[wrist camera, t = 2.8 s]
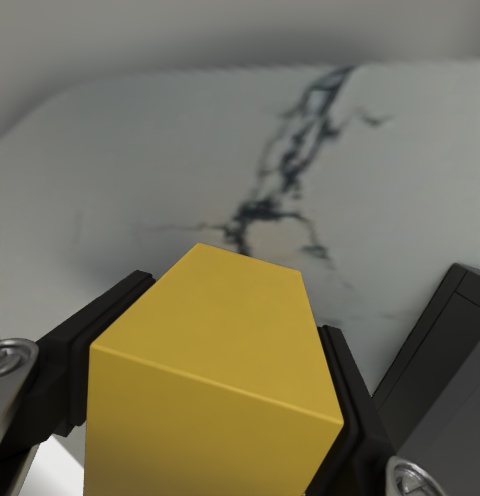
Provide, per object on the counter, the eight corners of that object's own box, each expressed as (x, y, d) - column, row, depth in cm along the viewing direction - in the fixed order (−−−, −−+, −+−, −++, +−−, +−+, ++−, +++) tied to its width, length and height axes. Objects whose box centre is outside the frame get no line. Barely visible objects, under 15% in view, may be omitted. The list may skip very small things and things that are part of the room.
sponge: (173, 361, 11) (79, 543, 6) (197, 241, 9) (87, 344, 4) (257, 387, 11) (243, 599, 5) (300, 270, 9) (346, 424, 3)
